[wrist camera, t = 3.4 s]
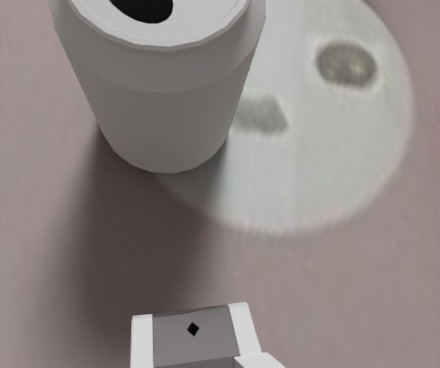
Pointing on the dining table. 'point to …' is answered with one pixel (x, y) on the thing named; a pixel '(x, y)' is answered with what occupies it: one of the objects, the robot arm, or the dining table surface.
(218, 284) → the dining table surface
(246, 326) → the robot arm
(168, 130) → the can
